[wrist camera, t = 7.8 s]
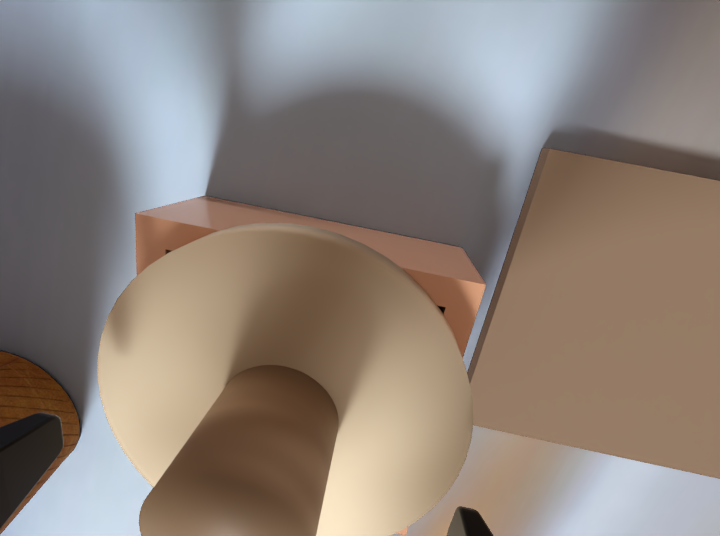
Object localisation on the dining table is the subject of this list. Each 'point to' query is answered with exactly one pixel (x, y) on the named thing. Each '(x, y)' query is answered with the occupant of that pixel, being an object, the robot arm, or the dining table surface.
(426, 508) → the lid
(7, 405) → the disposable coffee cup
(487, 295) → the dining table surface
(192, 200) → the dish
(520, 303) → the mat
